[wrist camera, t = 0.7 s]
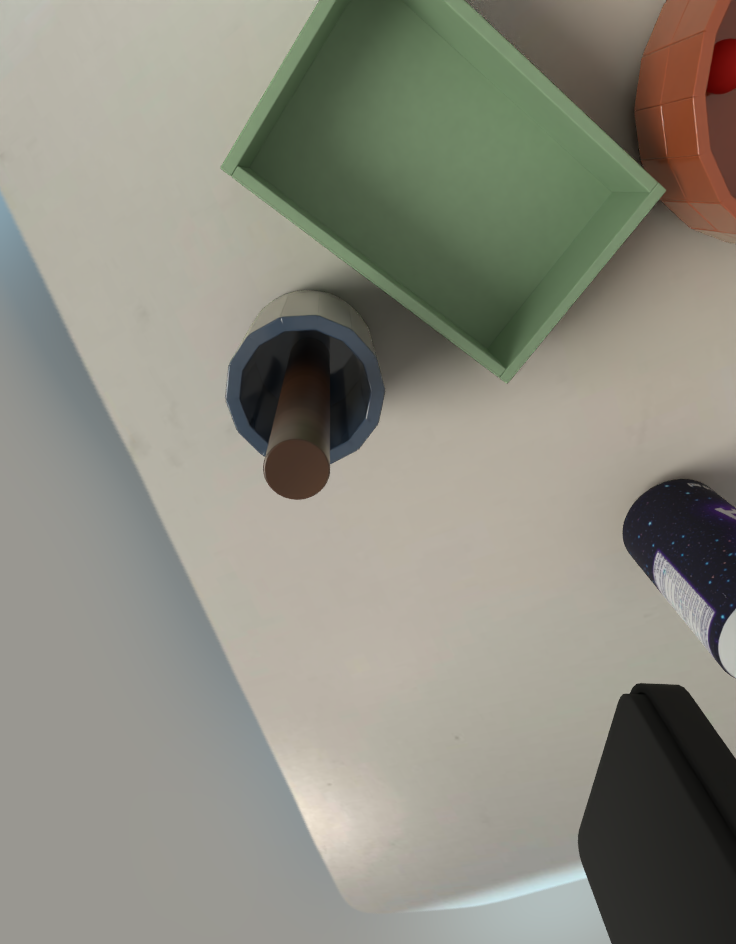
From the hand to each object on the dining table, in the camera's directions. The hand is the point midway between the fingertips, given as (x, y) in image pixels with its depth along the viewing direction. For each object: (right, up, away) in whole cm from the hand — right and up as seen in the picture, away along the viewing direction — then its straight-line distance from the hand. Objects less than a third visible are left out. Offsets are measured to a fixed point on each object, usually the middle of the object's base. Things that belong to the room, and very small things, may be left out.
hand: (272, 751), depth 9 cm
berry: (+16, +21, +19) cm, 32 cm away
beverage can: (+18, +1, +30) cm, 35 cm away
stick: (-2, +9, +24) cm, 26 cm away
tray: (+4, +17, +22) cm, 28 cm away
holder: (-2, +10, +25) cm, 27 cm away
